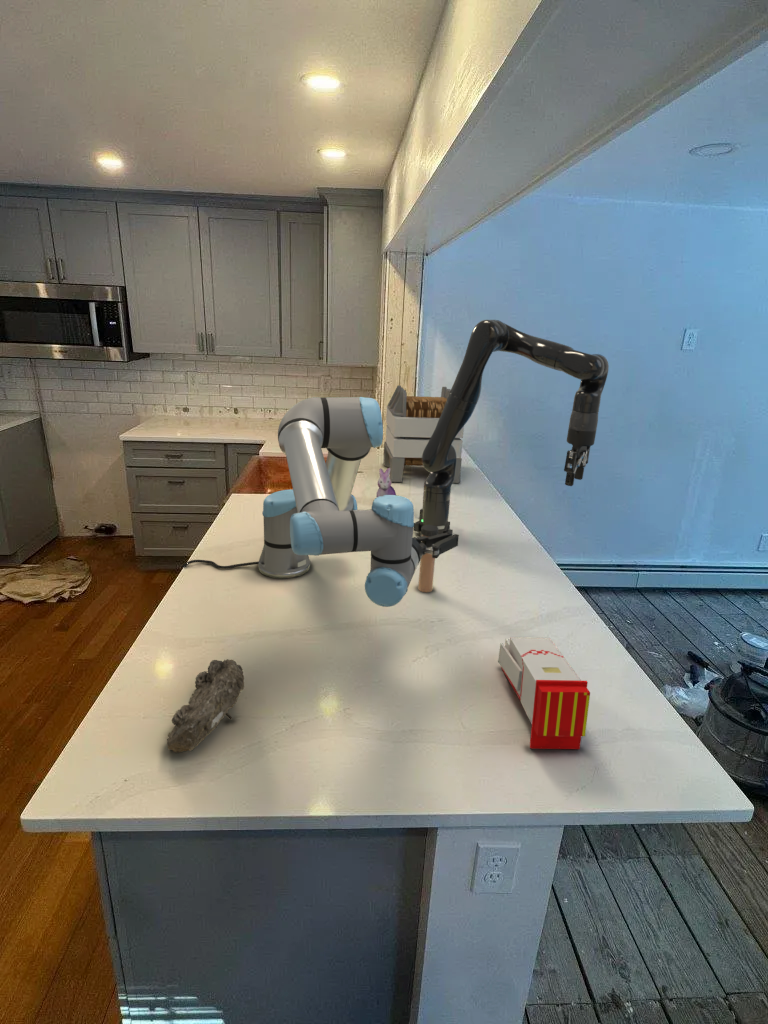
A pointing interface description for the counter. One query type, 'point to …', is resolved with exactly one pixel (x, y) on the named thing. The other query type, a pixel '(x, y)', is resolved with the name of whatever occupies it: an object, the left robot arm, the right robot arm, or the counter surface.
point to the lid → (429, 530)
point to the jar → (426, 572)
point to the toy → (546, 691)
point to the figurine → (385, 484)
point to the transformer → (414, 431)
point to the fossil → (206, 705)
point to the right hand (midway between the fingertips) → (573, 482)
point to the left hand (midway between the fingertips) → (419, 523)
